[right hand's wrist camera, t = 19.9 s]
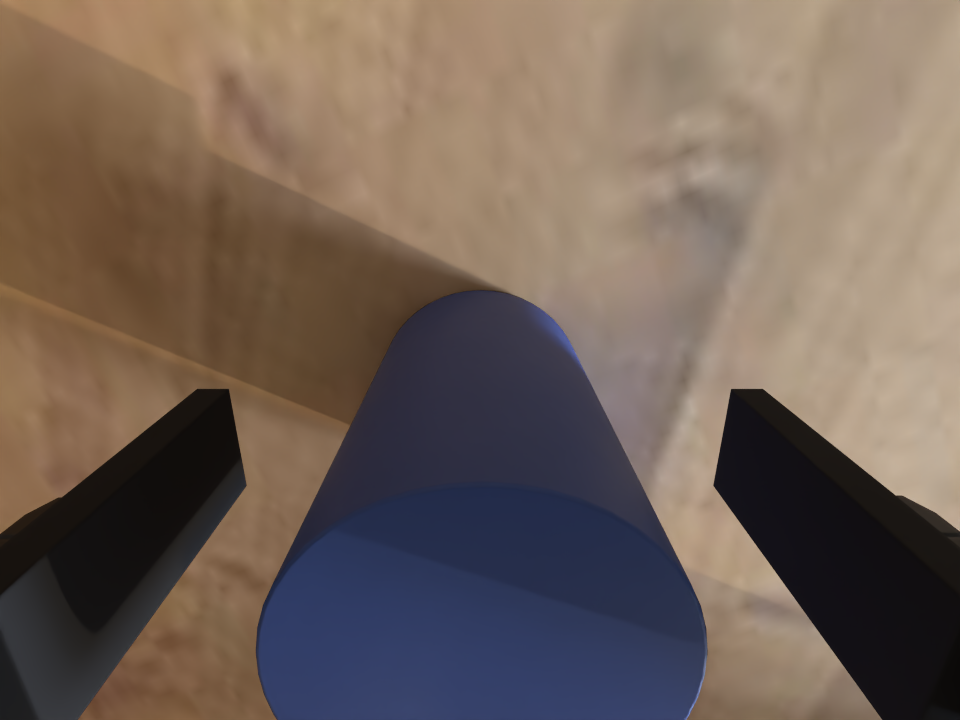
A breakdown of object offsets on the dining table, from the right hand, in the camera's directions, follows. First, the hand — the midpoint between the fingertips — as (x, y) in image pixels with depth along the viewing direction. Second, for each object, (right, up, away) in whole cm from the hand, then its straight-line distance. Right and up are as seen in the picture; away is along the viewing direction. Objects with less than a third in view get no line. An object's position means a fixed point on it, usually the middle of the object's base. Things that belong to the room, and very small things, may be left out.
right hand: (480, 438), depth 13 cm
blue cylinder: (0, +1, +3) cm, 3 cm away
